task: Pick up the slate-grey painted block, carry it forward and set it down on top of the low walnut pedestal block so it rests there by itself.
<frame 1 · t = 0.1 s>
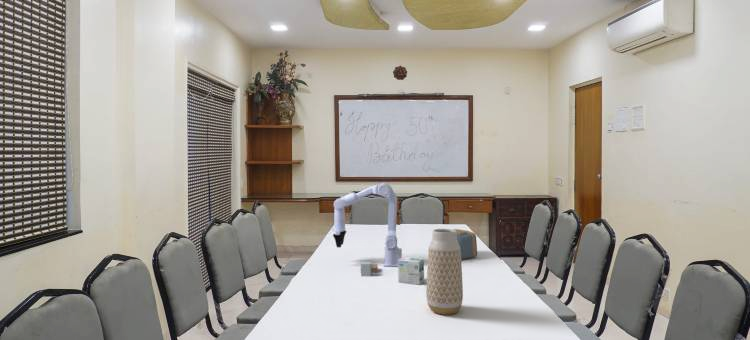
hand: (339, 245, 247), 10 cm above the table, fingers open, 7 cm apart
alarm clock: (458, 257, 264), on the table
walnut base: (369, 271, 234), on the table
light bulb box: (411, 282, 213), on the table
vase: (444, 311, 175), on the table
grey block: (366, 275, 226), on the table
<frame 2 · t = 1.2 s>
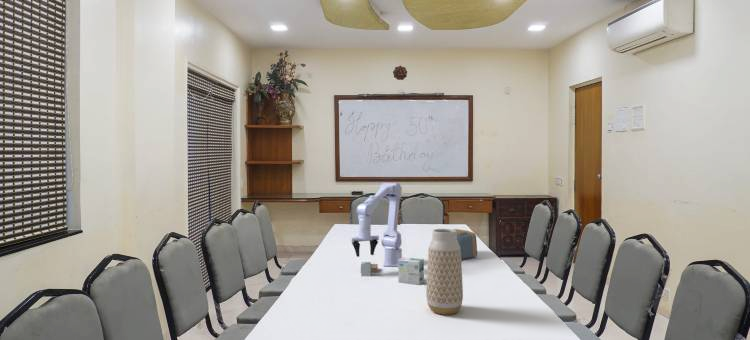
hand: (364, 255, 226), 9 cm above the table, fingers open, 7 cm apart
nothing on the table moved.
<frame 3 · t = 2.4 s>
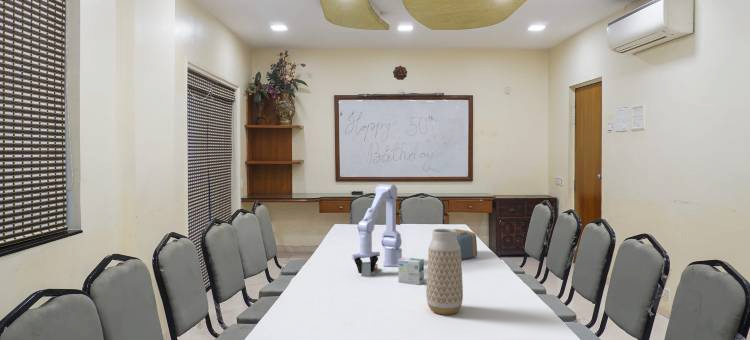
hand: (366, 272, 226), 1 cm above the table, fingers closed on grey block, 6 cm apart
grey block: (366, 275, 226), on the table, touching gripper
everything else where it was.
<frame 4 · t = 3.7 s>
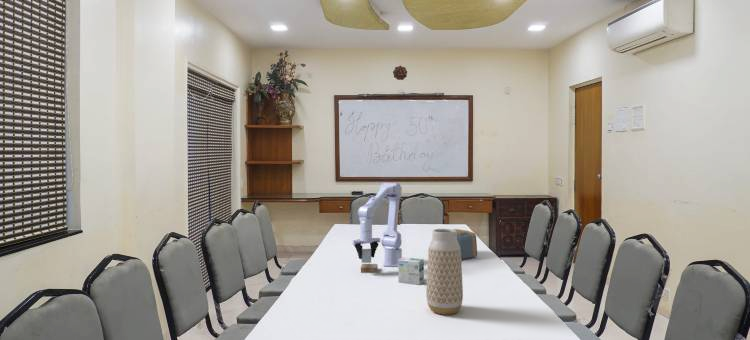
hand: (366, 257, 226), 8 cm above the table, fingers closed on grey block, 6 cm apart
grey block: (366, 261, 226), point 6 cm above the table, touching gripper
everything else where it was.
when the fingers open (6 cm above the table, at t = 5.2 s): grey block drops 1 cm, point 3 cm above the table.
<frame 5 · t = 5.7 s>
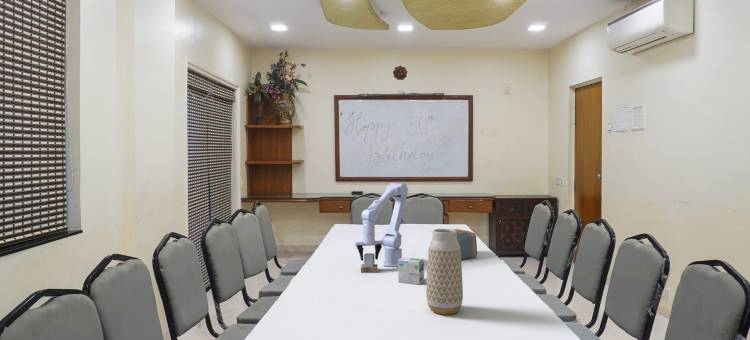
hand: (369, 259, 233), 6 cm above the table, fingers open, 7 cm apart
grey block: (369, 265, 233), point 3 cm above the table
everything else where it was.
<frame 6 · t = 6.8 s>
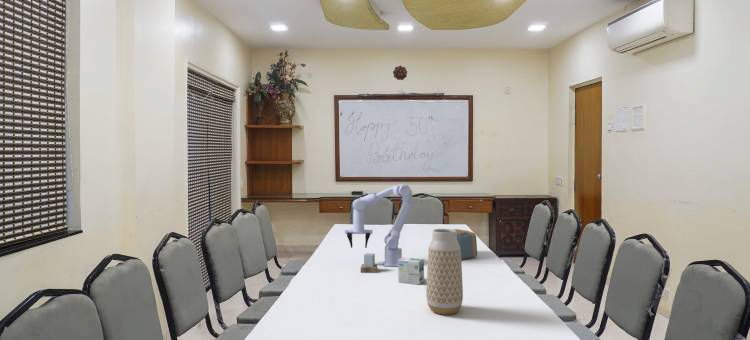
hand: (358, 247, 243), 10 cm above the table, fingers open, 7 cm apart
nothing on the table moved.
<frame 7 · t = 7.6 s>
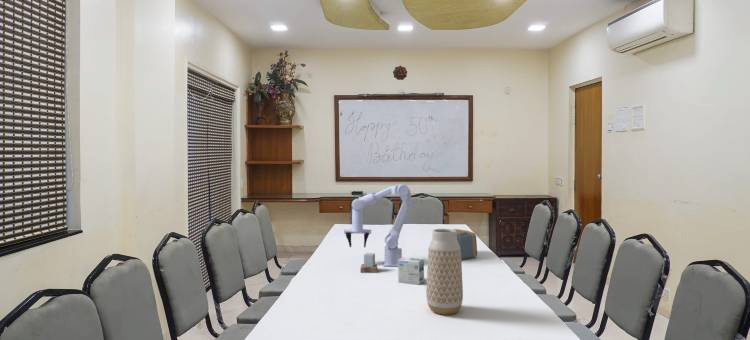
hand: (357, 246, 245), 10 cm above the table, fingers open, 7 cm apart
walnut base: (369, 271, 234), on the table, touching grey block
grey block: (369, 265, 233), point 3 cm above the table, touching walnut base
everything else where it was.
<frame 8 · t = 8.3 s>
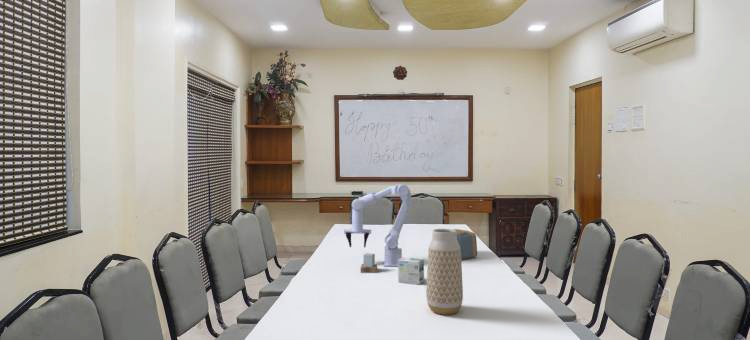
hand: (357, 246, 245), 10 cm above the table, fingers open, 7 cm apart
walnut base: (369, 271, 234), on the table
grey block: (369, 265, 233), point 3 cm above the table
everything else where it was.
at the end: grey block 0.4 cm off-centre on the walnut base, point 3.1 cm above the walnut base's base; grey block tilted 2°; the gripper is holding nothing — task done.
